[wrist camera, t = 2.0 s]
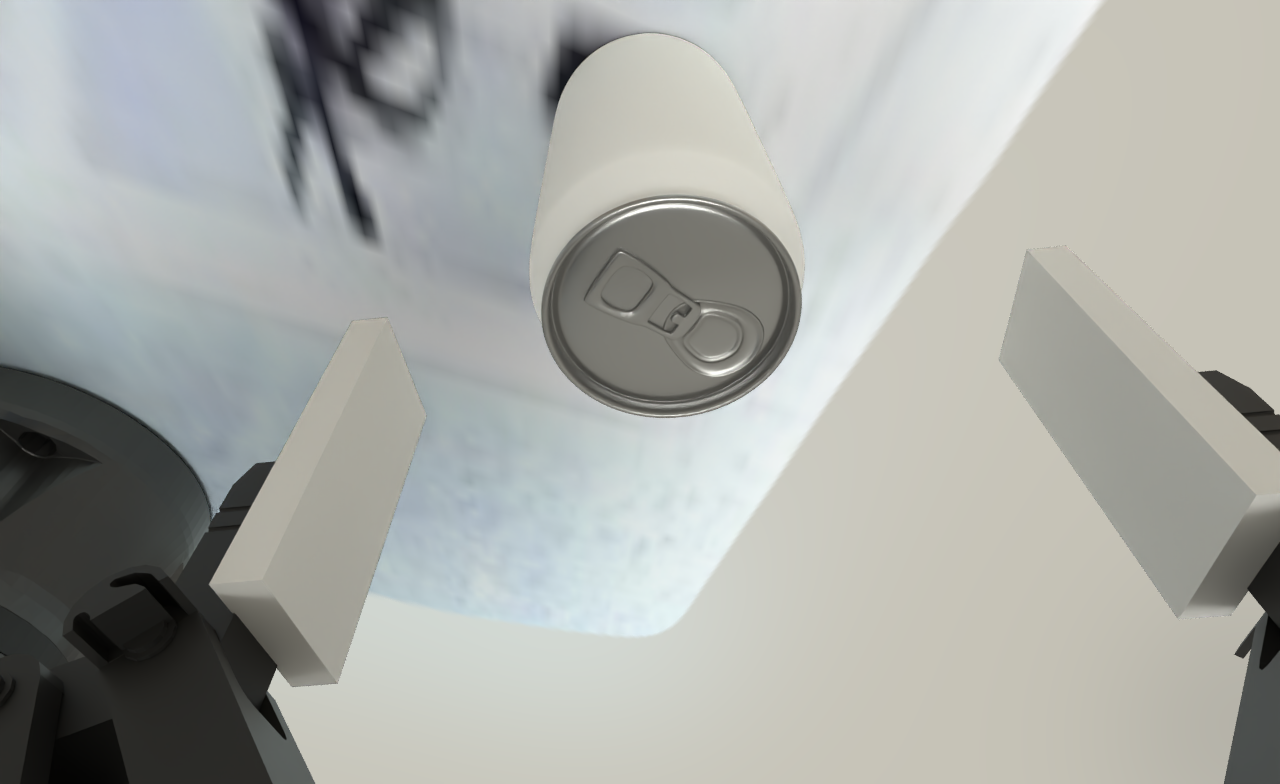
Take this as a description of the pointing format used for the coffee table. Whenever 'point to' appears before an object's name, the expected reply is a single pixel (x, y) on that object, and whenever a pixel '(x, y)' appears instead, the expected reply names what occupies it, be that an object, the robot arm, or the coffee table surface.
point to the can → (662, 235)
